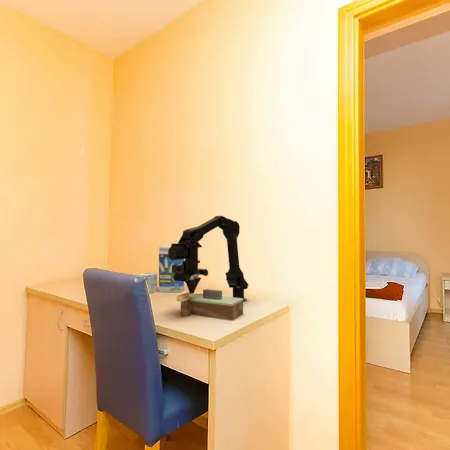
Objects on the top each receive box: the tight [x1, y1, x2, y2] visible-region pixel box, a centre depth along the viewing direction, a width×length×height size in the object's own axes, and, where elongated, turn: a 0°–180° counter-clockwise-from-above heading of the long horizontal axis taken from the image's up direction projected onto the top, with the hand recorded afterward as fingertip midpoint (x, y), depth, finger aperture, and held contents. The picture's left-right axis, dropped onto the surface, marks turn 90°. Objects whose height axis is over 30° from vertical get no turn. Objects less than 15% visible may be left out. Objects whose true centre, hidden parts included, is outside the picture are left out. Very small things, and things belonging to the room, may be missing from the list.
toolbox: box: [180, 299, 244, 321], centre depth 133 cm, size 14×24×6 cm, turn 62°
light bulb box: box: [138, 271, 158, 294], centre depth 178 cm, size 11×7×11 cm, turn 149°
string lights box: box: [158, 245, 185, 293], centre depth 183 cm, size 13×8×26 cm, turn 82°
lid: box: [190, 288, 244, 306], centre depth 134 cm, size 11×24×4 cm, turn 62°
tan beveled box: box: [176, 291, 195, 303], centre depth 131 cm, size 8×3×2 cm, turn 152°
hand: (191, 294), depth 136 cm, fingers closed
